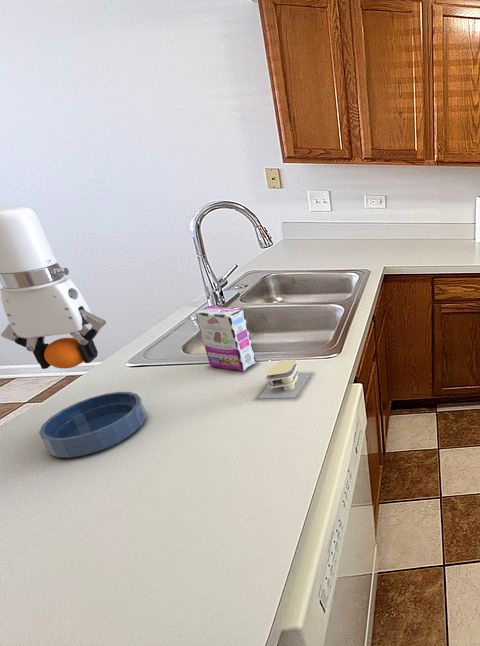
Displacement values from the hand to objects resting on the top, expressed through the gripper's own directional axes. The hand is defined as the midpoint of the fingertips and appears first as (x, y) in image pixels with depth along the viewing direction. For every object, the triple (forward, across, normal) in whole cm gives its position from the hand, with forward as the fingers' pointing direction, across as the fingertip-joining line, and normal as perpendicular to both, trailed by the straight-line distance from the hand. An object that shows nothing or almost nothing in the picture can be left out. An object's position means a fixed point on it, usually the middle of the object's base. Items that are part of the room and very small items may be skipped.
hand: (70, 361), depth 78 cm
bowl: (+17, 0, +1) cm, 17 cm away
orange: (-2, 0, 0) cm, 2 cm away
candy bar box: (+17, -20, -21) cm, 34 cm away
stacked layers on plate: (+17, -35, -6) cm, 40 cm away
